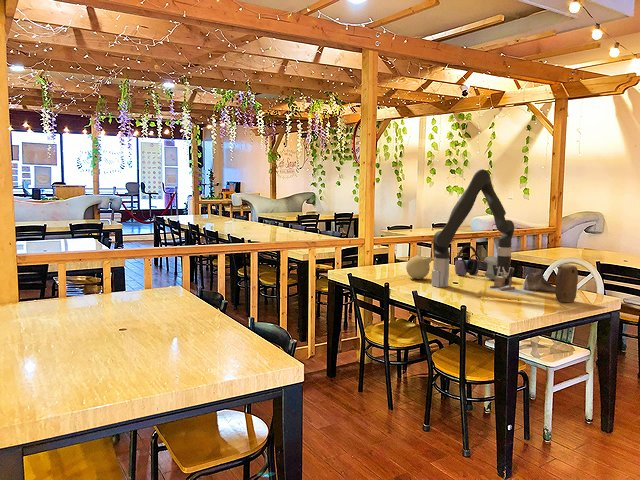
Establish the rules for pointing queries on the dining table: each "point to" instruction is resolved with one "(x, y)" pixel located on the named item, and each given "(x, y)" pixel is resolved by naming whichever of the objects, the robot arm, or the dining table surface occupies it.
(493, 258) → the decorative stone
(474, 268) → the headphones
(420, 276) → the toy
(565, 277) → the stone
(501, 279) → the reddish brown block
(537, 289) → the shoe
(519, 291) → the panel
